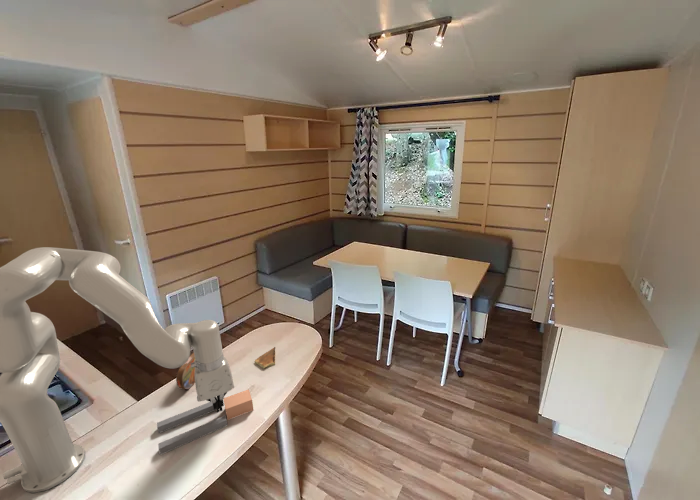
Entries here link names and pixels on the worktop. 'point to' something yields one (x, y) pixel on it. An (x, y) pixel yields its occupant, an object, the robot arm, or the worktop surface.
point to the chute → (190, 434)
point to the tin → (186, 374)
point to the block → (238, 404)
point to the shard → (266, 359)
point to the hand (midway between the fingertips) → (219, 408)
